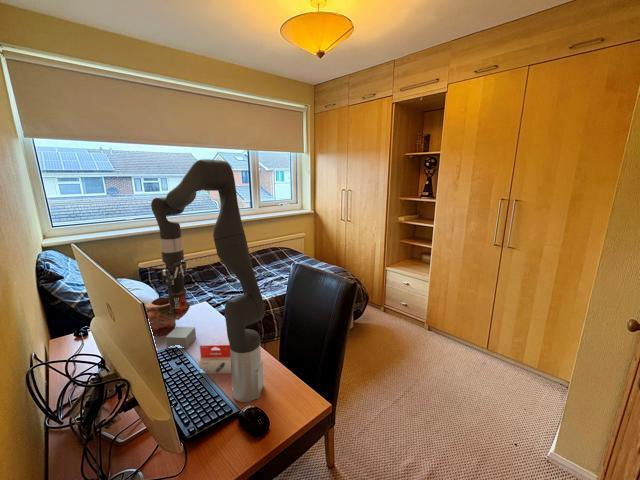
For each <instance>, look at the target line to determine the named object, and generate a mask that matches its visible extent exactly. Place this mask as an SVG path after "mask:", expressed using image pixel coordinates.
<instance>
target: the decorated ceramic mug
mask: <svg viewBox="0 0 640 480" xmlns="http://www.w3.org/2000/svg"><path fill="white" fill-rule="evenodd" d="M145 305H146V309H147V314H148V318H149V322H150V326H151V329H152V332H153V334H152V335H154V336H156V335H160V336H165V335H168V334H169V333H170V332H171V331H172V330H174V329H175V328H176V327H177V325H176V321H180V319H182V317H184V316H185V315H186V314H187V313H188V311H189V309H190V307H191V306H190V303H189V302H188V301H187V300H186V306H187V312H186V313H185V314H182V315H178V316H173V315H171V312H170V303H169V296H166V297H164V296H163V297H162V296H161V297H158V298H156V299H155V298H154V299H153V300H151V301H149V302H148V303H146V304H145ZM150 326H149V327H150Z"/></svg>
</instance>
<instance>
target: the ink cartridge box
mask: <svg viewBox="0 0 640 480" xmlns="http://www.w3.org/2000/svg"><path fill="white" fill-rule="evenodd" d="M214 348H218V349H214ZM213 349H214V350H213ZM199 352H200V357H199V360H198V369H199V368H200V369H202V370H203V371H205V372H206V373H205V374H231V360H230V344H219V345H218V344H217V345H216V344H215V345H213V344H212V345H208V344H207V345H199Z"/></svg>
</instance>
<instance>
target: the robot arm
mask: <svg viewBox="0 0 640 480" xmlns="http://www.w3.org/2000/svg"><path fill="white" fill-rule="evenodd" d="M186 172H187V173H185V175H184V177H182V179H181V181H180V182H179V183H178V184H177V185H176V186H175V187H174V188H172V189H171V190H170V191H169V192H168V193H167V194H166V196H157V197H154V198H153V199H152V200H151V204H150V208H151V211H152V213H153V215H154V217H155V219H156V223H157V225H158V228H159V235H160V250H161V251H160V252H161V259H162V263H164V264H165V268H164V269H162V270H160V275H161V279H162V284H163V286H167V285H168V286H167V293H168V292H169V294H174V293H175V286H174V281H175V279H176V276H177V275H183V276H184V277H185V276H186V275H187V260H185V255H184V254H185V253H184V244H183V239H182V231H181V229H182V228H181V224H180V223H179V222H178V221H172V220H171V221H170V220H168V217H170V216H177V215H181V214H183V212H184V210H185V208H186V207H187V206H189V205H190V204H192V203H193V202H194V200H195V199H196V197H197V192H200V191H208V192H209V191H210V192H211V191H212V192H214V191H215V192H216V191H217V192H218V195H219V201H220V210H219V213H218V216H217V218H216V222H215V224H214V228H213V232H212V233H213V234H212V236H213V242H214V246H215V251H216V255H217V257H218V258H219V260H220V261H221V262H222V263H223V265H224V266H225V267H226V268H227V269H228V270H230V272H232V273H233V274H234V275H235V276H236V278H237V280H238V281H239V283H240V285H241V289H242V293H243V294H241V295H239V296H236V297H232V298H230V299H228V300H227V301H226V303H224V304H225V306H224V320H225V325H226V335H227V340H228V343H229V344H228V345H230V360H231V373H230V374H231V389H232V398H233V399H234V400H235V401H237V402H240V403H248V402H252V401H254V400H259V399H260V398H261V395H262V391H263V388H264V361H263V360H262V359H261V358H262V356H261V355H262V354H261V336H260V333H259V332H258V331H256V330H254V329H250V328H246V327H248V326H250V325H253V324H255V323H257V322H259V321H261V320H263V319H264V317H265V315H266V314H265V313H266V308H265V307H266V306H265V302H264V299H263V296H262V293H261V290H260V286H259V284H258V281H257V278H256V277H257V276H256V275H255V271H254V268H253V263H252V260H251V255H250V250H249V245H248V242H247V241H248V240H247V237H246V233H245V230H244V226H243V222H242V218H241V212H240V208H239V204H238V196H237V195H238V194H237V187H236V181H235V174H234V172H233V168H232V167H231V165H230V163H229V162H227V161H225V160H222V159H221V160H220V159H210V158H201V159H197V160H196V161H195V162H194V163H192V165H191V166H190V168H189V169H188V171H186ZM171 275H173V276H171ZM171 279H172V282H171Z"/></svg>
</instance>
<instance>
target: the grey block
mask: <svg viewBox="0 0 640 480" xmlns="http://www.w3.org/2000/svg"><path fill="white" fill-rule="evenodd" d="M196 338H197V335H196V327H195V326H194V327H193V326H175V329H174V330H172V331H171V332H170V333H169V334H166V336H165V342H166V348H167V347H170V346H175V345H180V346H182V347H184V348H185V349H184V350H187V349H188V348H189V346H190V345H192V343H193V342H194V341H195V340H196Z"/></svg>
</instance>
